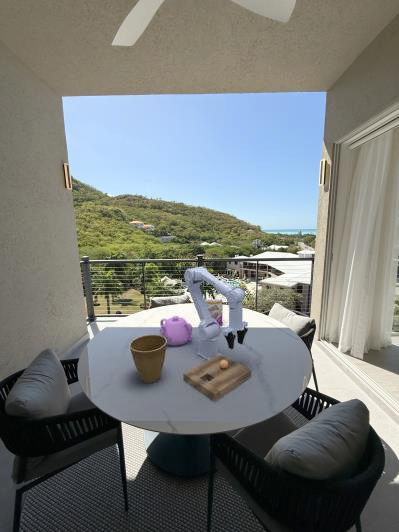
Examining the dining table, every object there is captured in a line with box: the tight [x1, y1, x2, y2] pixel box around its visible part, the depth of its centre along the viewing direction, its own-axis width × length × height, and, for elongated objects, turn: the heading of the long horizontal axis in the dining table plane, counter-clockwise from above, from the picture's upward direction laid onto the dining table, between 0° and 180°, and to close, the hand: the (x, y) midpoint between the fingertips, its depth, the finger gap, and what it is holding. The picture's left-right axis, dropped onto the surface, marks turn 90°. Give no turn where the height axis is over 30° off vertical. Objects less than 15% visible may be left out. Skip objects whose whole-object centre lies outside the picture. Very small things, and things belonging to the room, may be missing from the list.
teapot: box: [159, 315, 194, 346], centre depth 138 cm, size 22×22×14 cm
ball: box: [220, 360, 228, 369], centre depth 108 cm, size 4×4×4 cm
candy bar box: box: [204, 298, 224, 327], centre depth 160 cm, size 11×5×16 cm, turn 92°
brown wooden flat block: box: [182, 353, 252, 402], centre depth 106 cm, size 18×22×3 cm
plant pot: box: [129, 334, 168, 384], centre depth 106 cm, size 15×15×16 cm
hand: (235, 345), depth 112 cm, fingers open, 6 cm apart
